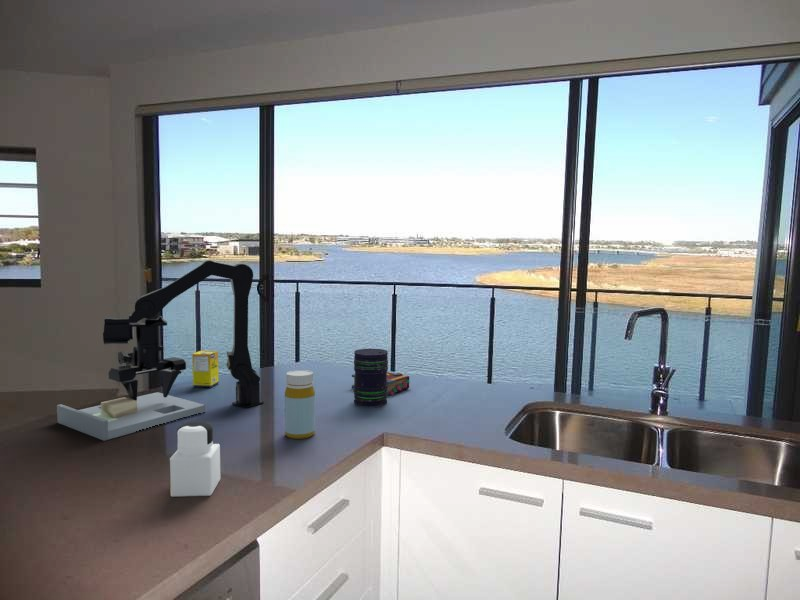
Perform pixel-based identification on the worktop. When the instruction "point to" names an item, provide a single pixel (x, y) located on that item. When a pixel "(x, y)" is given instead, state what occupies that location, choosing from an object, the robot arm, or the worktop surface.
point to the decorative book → (394, 382)
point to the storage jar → (370, 377)
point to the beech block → (119, 407)
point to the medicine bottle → (195, 461)
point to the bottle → (299, 404)
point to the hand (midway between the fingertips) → (150, 400)
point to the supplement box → (205, 369)
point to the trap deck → (128, 416)
